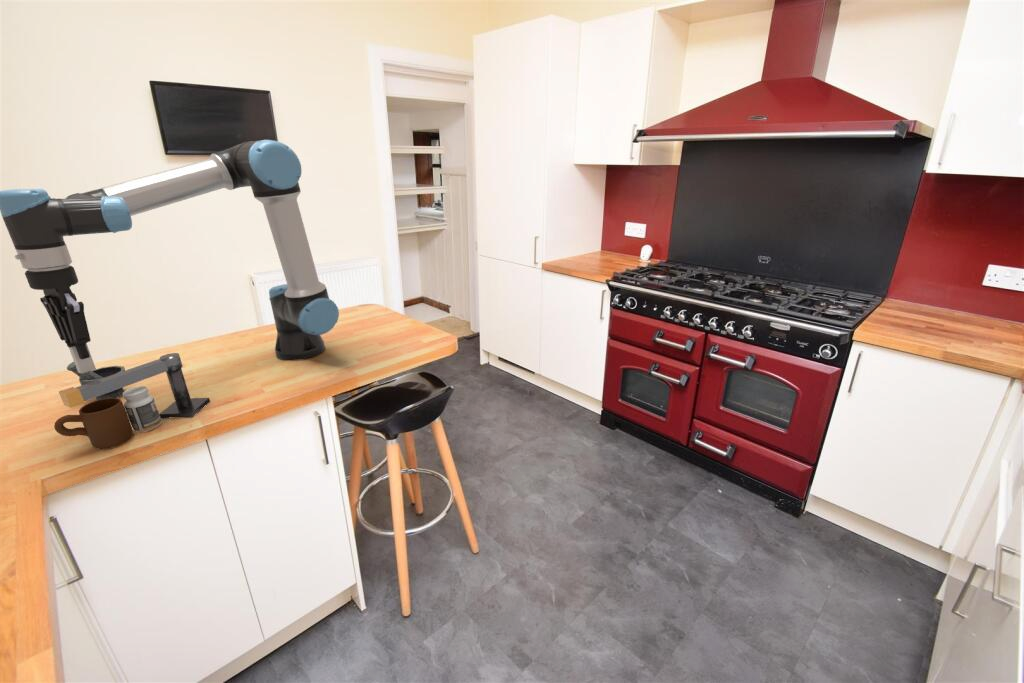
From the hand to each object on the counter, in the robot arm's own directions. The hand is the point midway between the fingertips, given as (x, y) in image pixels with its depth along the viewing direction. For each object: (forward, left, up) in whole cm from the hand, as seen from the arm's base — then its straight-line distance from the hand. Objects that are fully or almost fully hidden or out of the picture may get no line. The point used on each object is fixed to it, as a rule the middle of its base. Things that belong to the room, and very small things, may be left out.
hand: (87, 370), depth 105 cm
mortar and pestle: (+14, -18, -16) cm, 28 cm away
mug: (-2, +6, -16) cm, 17 cm away
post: (-12, -9, -16) cm, 22 cm away
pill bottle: (-8, -2, -16) cm, 18 cm away
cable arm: (-7, -1, -4) cm, 8 cm away
